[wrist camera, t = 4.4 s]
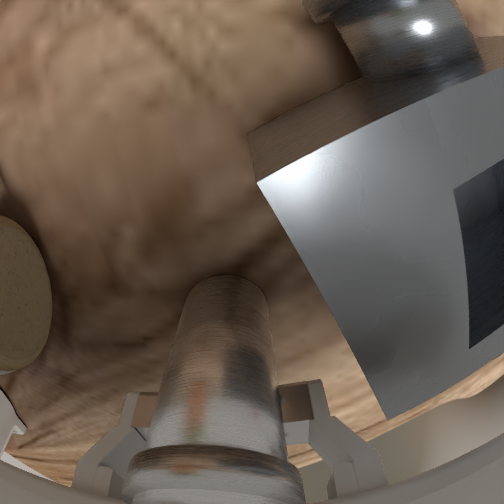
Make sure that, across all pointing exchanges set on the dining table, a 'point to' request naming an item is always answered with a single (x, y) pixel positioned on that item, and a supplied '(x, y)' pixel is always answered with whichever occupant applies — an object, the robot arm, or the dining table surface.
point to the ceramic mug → (22, 298)
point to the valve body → (400, 194)
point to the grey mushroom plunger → (217, 408)
